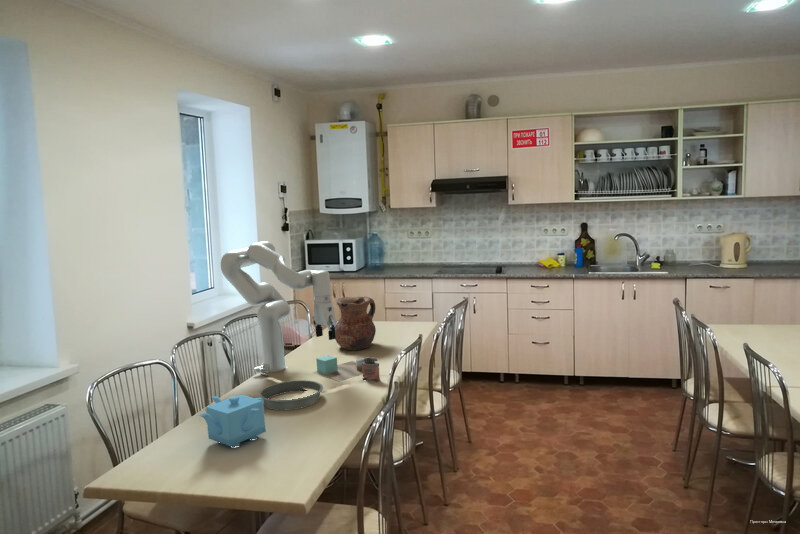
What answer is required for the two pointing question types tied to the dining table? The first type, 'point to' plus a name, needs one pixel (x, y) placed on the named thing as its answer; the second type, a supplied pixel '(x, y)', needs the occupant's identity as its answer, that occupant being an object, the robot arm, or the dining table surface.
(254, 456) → the dining table surface
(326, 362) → the turquoise cube
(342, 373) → the post board
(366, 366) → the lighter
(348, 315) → the jug
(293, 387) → the cake pan
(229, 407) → the teakettle
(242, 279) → the robot arm
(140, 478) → the dining table surface
